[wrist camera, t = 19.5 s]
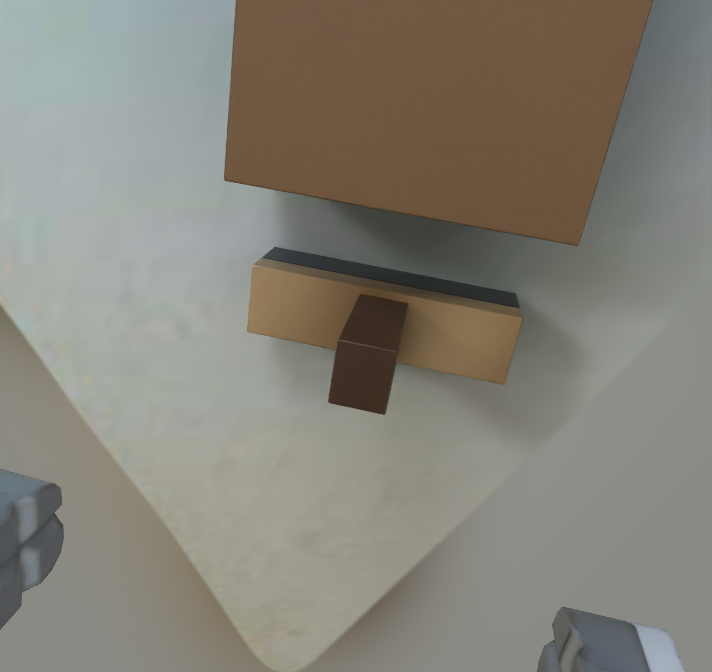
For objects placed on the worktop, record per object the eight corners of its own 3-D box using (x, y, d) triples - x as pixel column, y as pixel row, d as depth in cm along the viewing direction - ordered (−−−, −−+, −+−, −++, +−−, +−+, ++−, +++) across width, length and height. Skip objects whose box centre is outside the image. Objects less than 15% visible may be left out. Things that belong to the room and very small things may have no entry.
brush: (515, 293, 26) (540, 371, 19) (499, 354, 28) (516, 451, 20) (274, 246, 27) (205, 303, 20) (267, 307, 28) (200, 383, 21)
